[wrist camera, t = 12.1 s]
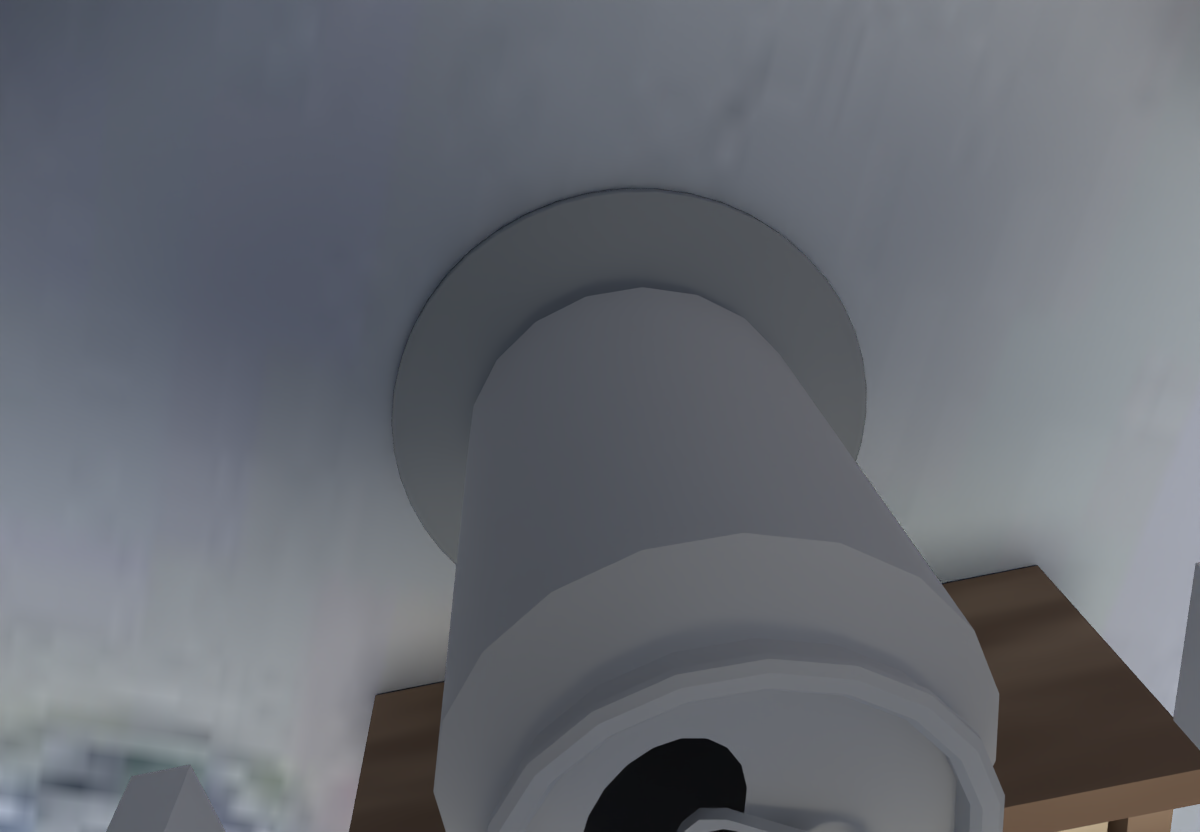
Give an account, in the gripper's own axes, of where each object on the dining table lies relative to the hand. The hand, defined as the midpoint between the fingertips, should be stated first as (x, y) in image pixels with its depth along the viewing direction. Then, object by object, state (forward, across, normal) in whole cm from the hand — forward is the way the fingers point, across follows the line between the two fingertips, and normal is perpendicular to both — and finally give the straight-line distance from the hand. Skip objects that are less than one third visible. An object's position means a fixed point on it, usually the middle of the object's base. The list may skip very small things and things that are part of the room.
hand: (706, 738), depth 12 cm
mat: (+10, 0, -1) cm, 11 cm away
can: (+10, 0, -1) cm, 10 cm away
